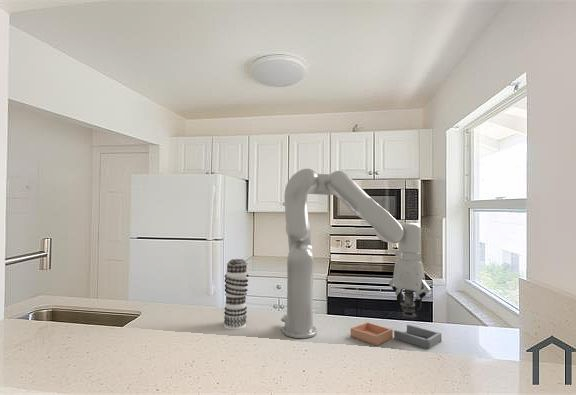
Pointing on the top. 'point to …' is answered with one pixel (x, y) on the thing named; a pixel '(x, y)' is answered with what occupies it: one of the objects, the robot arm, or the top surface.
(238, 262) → the striped cylinder tower
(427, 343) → the cubby
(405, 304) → the chess piece
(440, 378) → the top surface
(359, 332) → the dish
